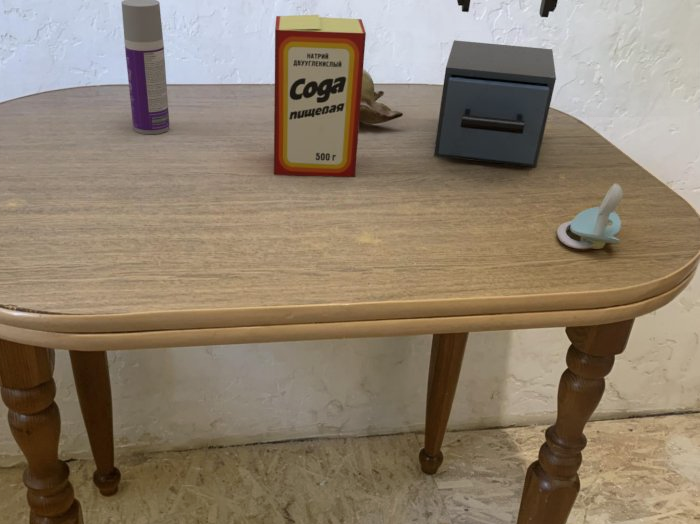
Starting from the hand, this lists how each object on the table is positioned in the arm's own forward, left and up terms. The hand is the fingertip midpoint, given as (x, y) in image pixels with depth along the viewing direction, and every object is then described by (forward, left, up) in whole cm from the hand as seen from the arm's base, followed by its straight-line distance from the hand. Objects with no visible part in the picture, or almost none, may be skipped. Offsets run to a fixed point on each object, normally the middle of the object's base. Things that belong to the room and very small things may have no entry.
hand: (504, 13), depth 84 cm
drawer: (-1, -3, -16) cm, 16 cm away
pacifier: (-12, +18, -17) cm, 28 cm away
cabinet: (-1, -8, -17) cm, 19 cm away
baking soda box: (+19, +7, -17) cm, 27 cm away
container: (+42, +1, -17) cm, 46 cm away
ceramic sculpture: (+19, -10, -17) cm, 28 cm away
